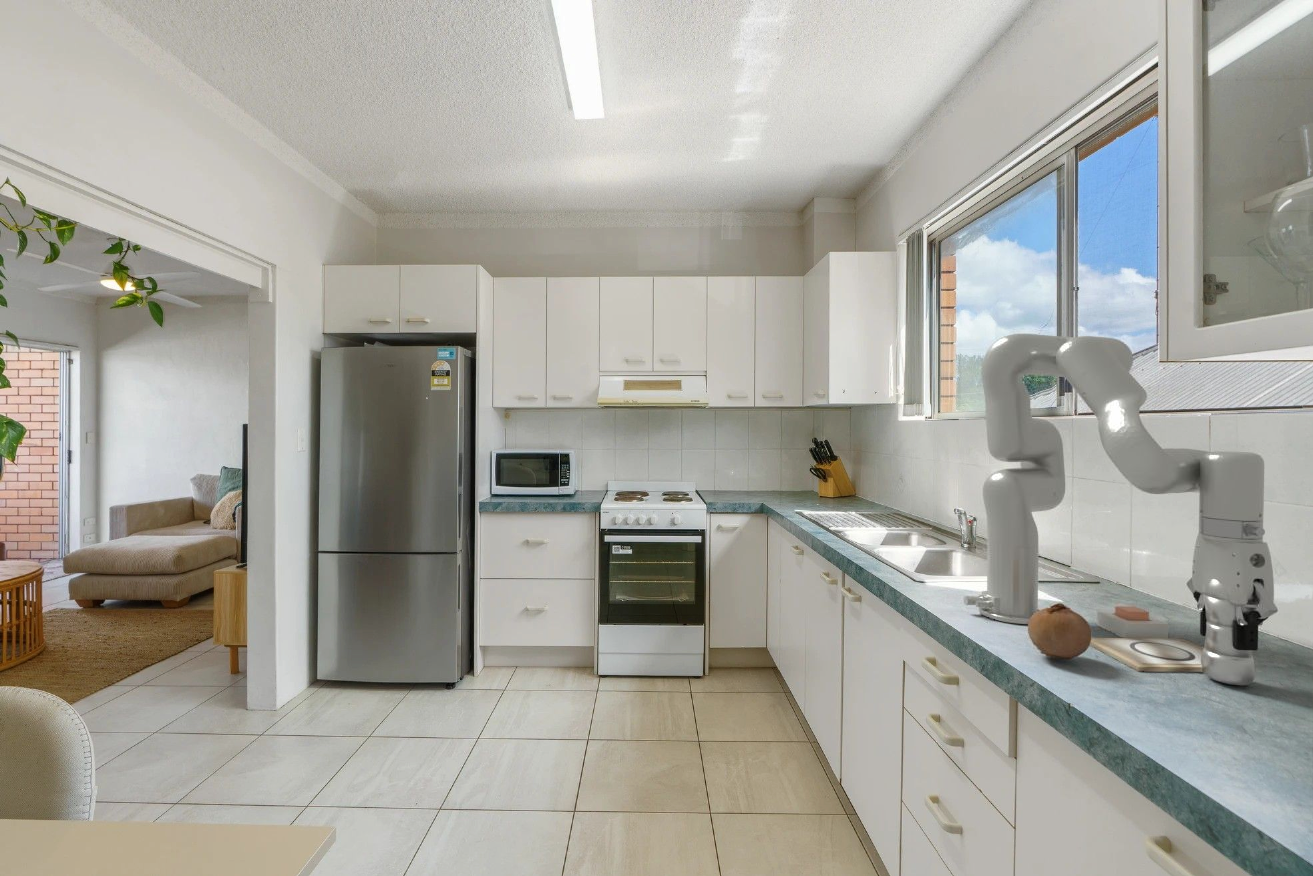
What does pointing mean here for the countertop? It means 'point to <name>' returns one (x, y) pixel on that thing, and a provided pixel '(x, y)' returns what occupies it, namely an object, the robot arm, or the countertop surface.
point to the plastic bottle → (1223, 639)
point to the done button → (1131, 613)
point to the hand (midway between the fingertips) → (1227, 641)
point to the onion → (1059, 632)
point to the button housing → (1132, 626)
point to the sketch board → (1153, 653)
